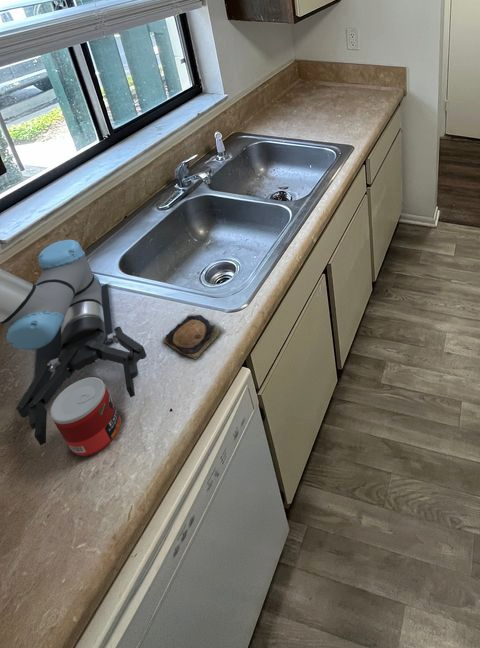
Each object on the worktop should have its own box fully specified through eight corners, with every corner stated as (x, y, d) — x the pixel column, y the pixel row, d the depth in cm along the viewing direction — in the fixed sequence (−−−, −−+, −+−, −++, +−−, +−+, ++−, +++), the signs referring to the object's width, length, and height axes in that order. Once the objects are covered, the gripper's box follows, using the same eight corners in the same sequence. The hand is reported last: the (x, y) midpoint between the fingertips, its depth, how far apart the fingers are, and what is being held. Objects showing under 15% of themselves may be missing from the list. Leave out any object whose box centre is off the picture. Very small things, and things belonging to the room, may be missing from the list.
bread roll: (224, 331, 100) (221, 320, 99) (194, 362, 94) (190, 351, 92) (192, 314, 105) (188, 303, 103) (160, 342, 98) (156, 331, 96)
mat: (35, 378, 91) (34, 377, 91) (40, 312, 106) (39, 310, 105) (113, 342, 98) (113, 341, 98) (107, 285, 113) (106, 283, 113)
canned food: (123, 439, 80) (105, 403, 76) (71, 468, 76) (48, 432, 72) (120, 403, 86) (103, 368, 81) (71, 429, 82) (50, 393, 77)
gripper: (152, 312, 102) (168, 386, 86) (16, 374, 89) (6, 474, 73) (143, 289, 99) (159, 362, 83) (1, 349, 86) (-13, 449, 70)
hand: (87, 415), depth 78 cm, fingers open, 13 cm apart
